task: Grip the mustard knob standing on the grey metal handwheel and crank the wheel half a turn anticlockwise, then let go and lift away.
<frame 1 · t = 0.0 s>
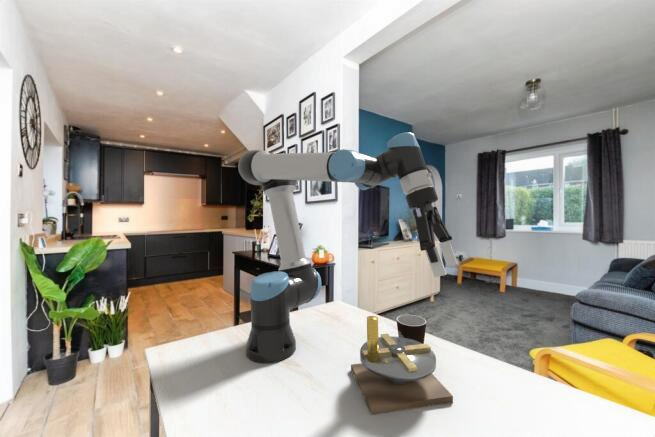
hand: (447, 270, 71), 28 cm above the table, tool tilted 20°, fingers open, 13 cm apart
handwheel: (396, 335, 70), point 12 cm above the table, hinge at 0.0°
coffee mug: (410, 351, 87), on the table
wheel stand: (397, 384, 71), on the table
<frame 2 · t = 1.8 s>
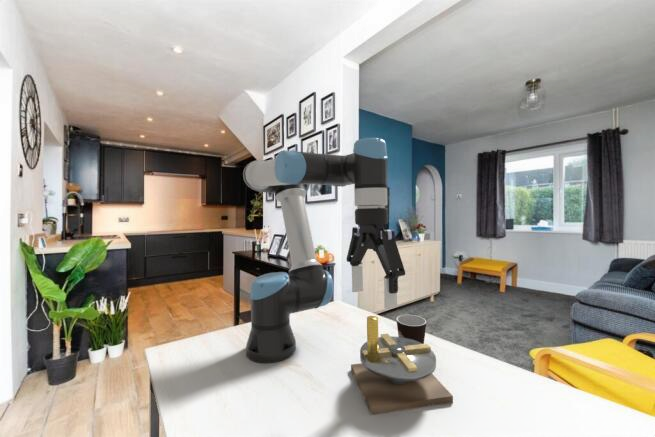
hand: (372, 298, 67), 23 cm above the table, tool pointing down, fingers open, 13 cm apart
nothing on the table moved.
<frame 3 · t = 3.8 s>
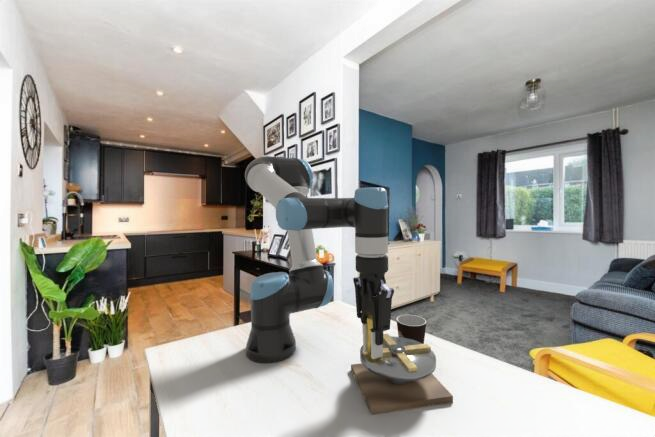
hand: (372, 353, 67), 10 cm above the table, tool pointing down, fingers closed on handwheel, 3 cm apart
handwheel: (396, 335, 70), point 12 cm above the table, hinge at 0.0°, touching gripper
everything else where it was.
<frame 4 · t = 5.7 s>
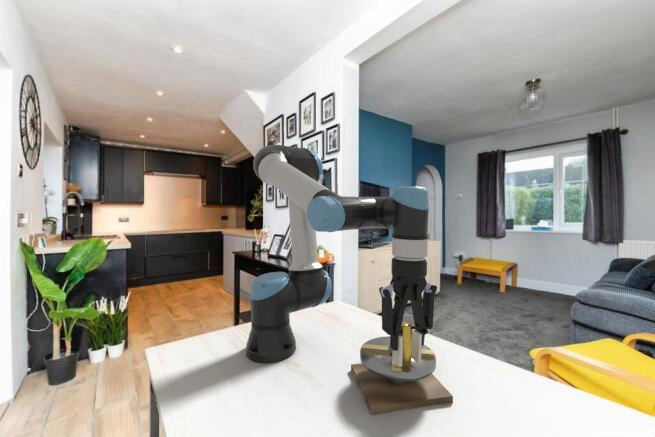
hand: (406, 361, 64), 9 cm above the table, tool pointing down, fingers open, 4 cm apart
handwheel: (396, 335, 70), point 12 cm above the table, hinge at 66.7°, touching gripper
everything else where it was.
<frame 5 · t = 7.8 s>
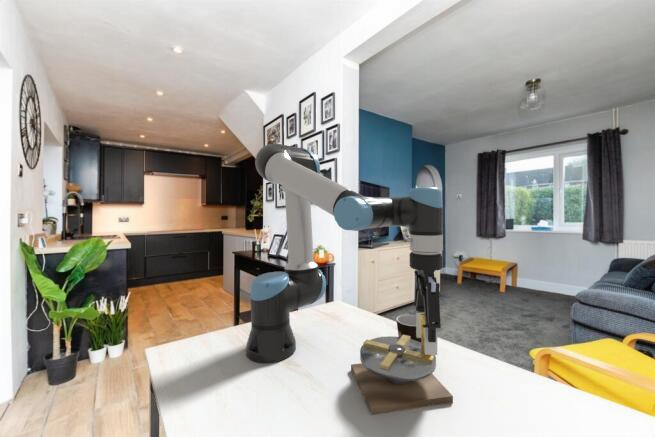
hand: (426, 345, 70), 10 cm above the table, tool pointing down, fingers open, 8 cm apart
handwheel: (396, 335, 70), point 12 cm above the table, hinge at 138.2°
everything else where it was.
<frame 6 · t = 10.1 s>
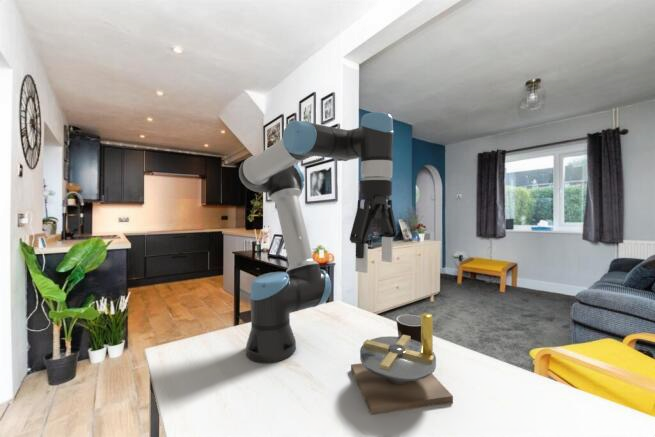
hand: (375, 266, 71), 29 cm above the table, tool pointing down, fingers open, 13 cm apart
nothing on the table moved.
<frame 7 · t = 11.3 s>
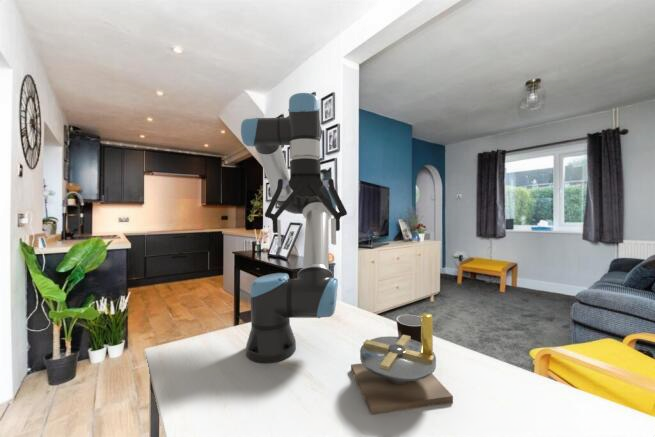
hand: (307, 245, 72), 35 cm above the table, tool pointing down, fingers open, 13 cm apart
nothing on the table moved.
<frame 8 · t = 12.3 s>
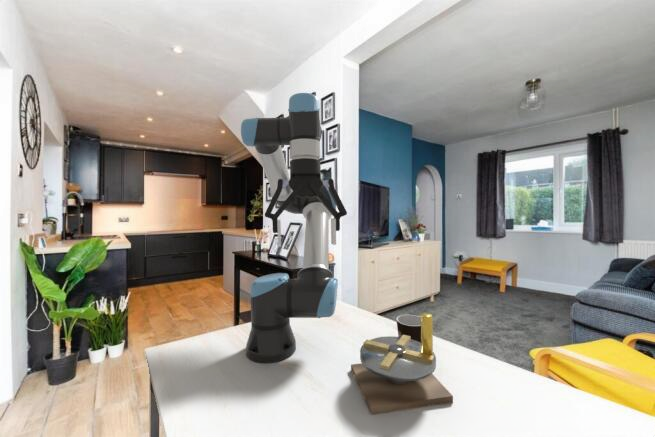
hand: (307, 245, 72), 35 cm above the table, tool pointing down, fingers open, 13 cm apart
nothing on the table moved.
at the end: handwheel at +138° (first picture: +0°); the gripper is holding nothing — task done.
